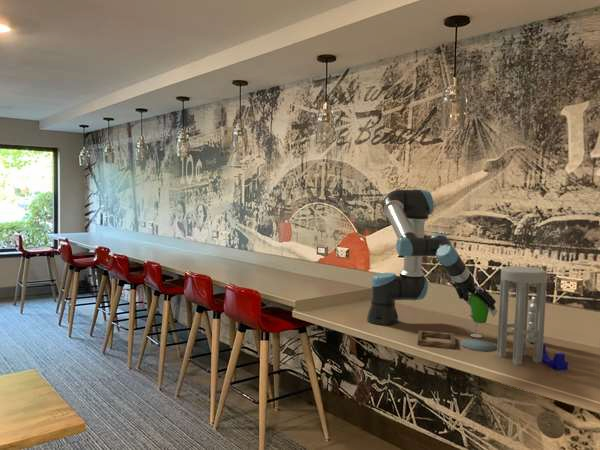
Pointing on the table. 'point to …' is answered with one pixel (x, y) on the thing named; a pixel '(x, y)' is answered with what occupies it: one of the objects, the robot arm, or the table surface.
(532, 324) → the plastic bottle
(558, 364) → the cable clip
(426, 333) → the cup holder
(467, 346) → the mat
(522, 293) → the stool
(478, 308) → the cup
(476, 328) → the wineglass
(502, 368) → the table surface
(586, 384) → the table surface
